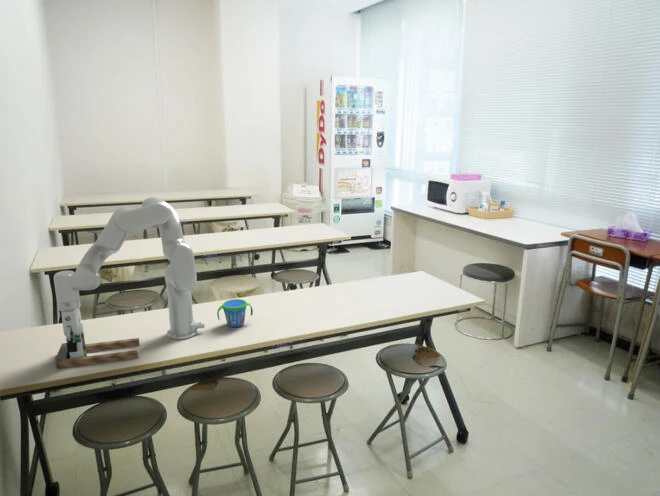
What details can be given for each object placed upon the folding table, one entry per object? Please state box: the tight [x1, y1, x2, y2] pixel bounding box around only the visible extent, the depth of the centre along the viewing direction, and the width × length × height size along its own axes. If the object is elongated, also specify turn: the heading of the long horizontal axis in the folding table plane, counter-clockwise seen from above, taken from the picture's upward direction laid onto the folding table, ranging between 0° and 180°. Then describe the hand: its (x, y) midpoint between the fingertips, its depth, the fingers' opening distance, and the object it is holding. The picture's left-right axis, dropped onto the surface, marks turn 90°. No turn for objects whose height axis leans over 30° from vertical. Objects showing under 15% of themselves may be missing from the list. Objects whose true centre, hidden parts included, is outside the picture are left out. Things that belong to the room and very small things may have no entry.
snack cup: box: [216, 298, 254, 328], centre depth 218 cm, size 16×10×10 cm
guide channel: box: [54, 337, 141, 370], centre depth 190 cm, size 28×13×4 cm, turn 108°
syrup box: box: [69, 320, 88, 358], centre depth 186 cm, size 6×6×14 cm
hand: (74, 346), depth 187 cm, fingers open, 8 cm apart
